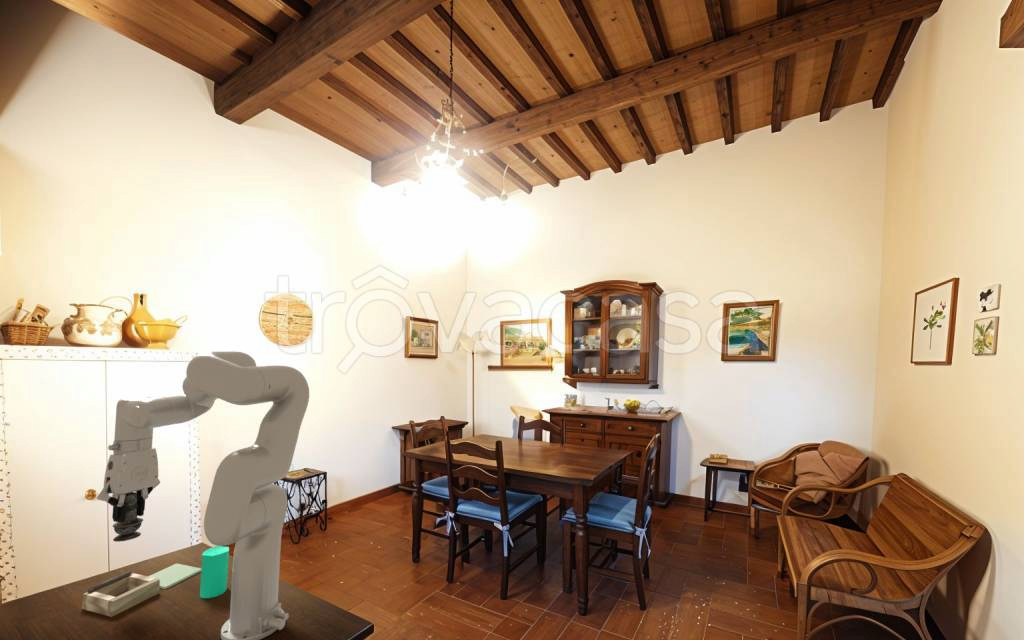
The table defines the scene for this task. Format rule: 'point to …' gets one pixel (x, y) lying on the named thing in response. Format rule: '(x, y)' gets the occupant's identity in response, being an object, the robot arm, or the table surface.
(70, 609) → the table surface
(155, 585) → the holder
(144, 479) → the robot arm
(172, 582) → the mat
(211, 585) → the candle
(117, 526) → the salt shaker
